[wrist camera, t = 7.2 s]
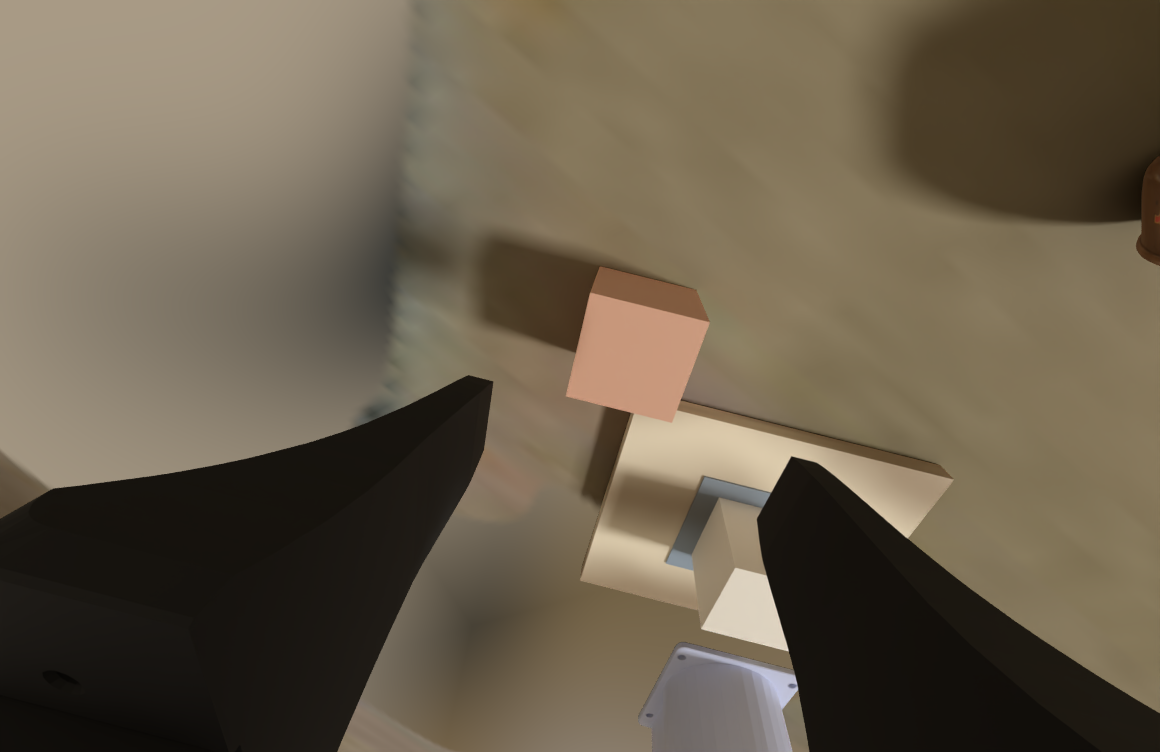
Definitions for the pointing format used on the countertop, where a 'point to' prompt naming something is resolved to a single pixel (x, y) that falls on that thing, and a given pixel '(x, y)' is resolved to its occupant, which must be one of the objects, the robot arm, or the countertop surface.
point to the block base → (735, 577)
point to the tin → (1150, 214)
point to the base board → (724, 491)
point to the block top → (637, 344)
